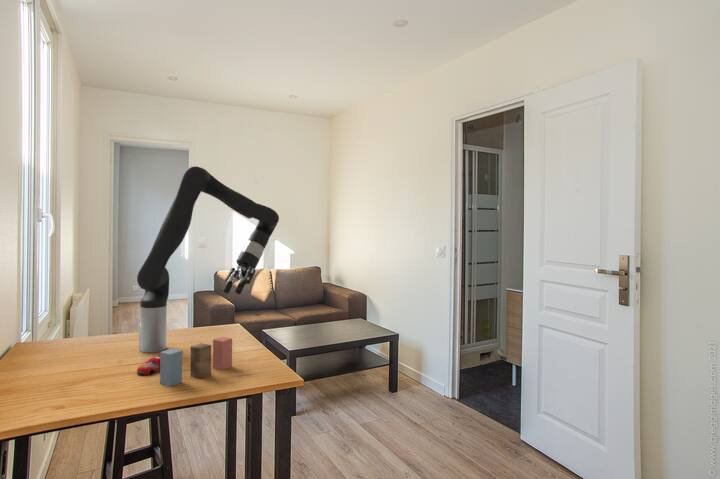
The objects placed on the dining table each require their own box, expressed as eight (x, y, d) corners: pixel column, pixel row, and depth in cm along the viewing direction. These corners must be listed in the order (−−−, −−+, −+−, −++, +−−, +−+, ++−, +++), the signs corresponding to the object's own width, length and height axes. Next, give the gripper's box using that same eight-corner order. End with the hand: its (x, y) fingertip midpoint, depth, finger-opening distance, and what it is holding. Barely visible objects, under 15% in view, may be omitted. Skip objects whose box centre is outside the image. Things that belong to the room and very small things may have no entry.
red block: (212, 368, 146) (213, 339, 146) (222, 364, 150) (222, 336, 150) (222, 370, 144) (222, 341, 144) (231, 366, 148) (232, 338, 148)
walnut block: (190, 376, 138) (190, 346, 138) (201, 372, 142) (201, 343, 142) (200, 379, 136) (200, 348, 136) (211, 374, 140) (211, 345, 140)
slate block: (160, 383, 131) (160, 352, 131) (172, 379, 135) (172, 348, 135) (169, 386, 129) (170, 354, 129) (182, 381, 133) (182, 350, 133)
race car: (146, 377, 137) (146, 365, 137) (133, 375, 139) (133, 363, 139) (175, 364, 150) (175, 353, 149) (163, 363, 151) (163, 352, 151)
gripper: (233, 251, 164) (213, 288, 157) (253, 249, 154) (233, 288, 147) (248, 261, 169) (229, 297, 162) (268, 259, 159) (249, 298, 152)
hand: (231, 293), depth 154 cm, fingers open, 8 cm apart
